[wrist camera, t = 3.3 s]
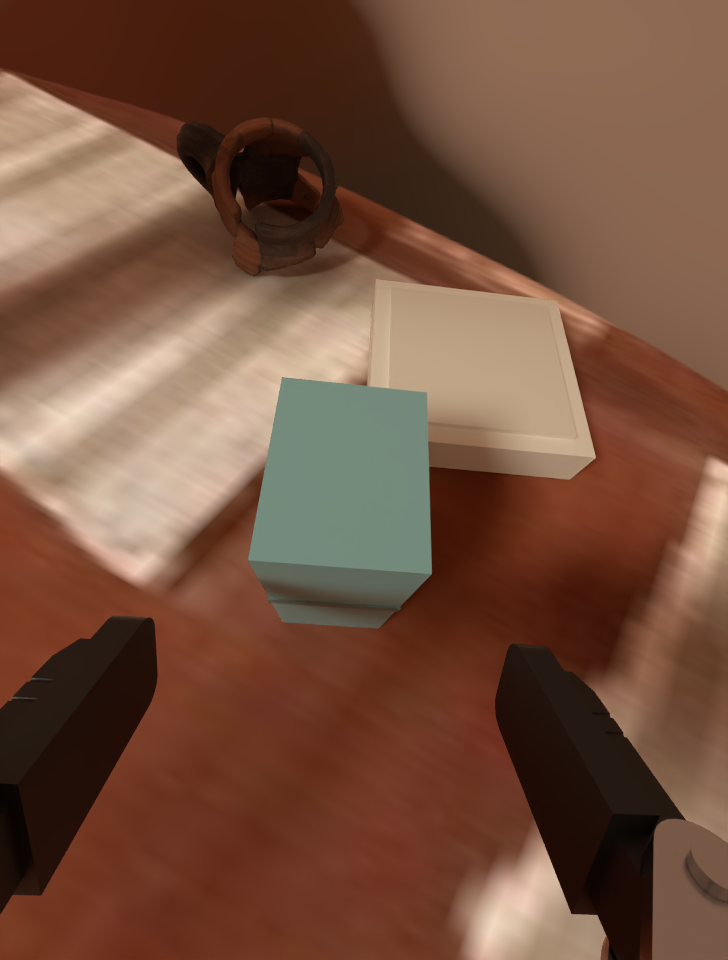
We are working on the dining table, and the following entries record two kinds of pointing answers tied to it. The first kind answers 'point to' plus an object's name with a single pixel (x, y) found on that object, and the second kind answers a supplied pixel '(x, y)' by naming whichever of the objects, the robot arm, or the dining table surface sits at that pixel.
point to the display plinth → (483, 377)
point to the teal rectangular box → (344, 503)
